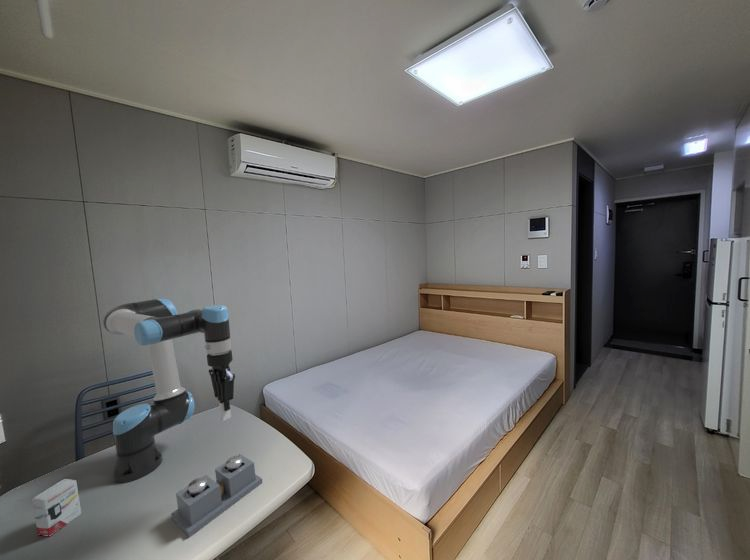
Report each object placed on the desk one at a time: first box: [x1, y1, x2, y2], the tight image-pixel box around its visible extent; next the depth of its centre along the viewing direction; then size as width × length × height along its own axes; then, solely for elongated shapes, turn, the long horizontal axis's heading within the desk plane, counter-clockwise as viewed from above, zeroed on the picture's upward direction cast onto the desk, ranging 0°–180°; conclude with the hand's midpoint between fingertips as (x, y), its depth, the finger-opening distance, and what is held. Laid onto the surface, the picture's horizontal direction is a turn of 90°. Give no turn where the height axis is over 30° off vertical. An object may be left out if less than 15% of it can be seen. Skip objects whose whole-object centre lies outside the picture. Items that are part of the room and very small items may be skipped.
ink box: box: [31, 478, 82, 536], centre depth 93 cm, size 9×5×12 cm, turn 168°
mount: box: [170, 453, 263, 538], centre depth 99 cm, size 12×24×8 cm, turn 145°
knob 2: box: [225, 454, 243, 473], centre depth 104 cm, size 5×5×8 cm
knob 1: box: [187, 476, 207, 498], centre depth 94 cm, size 5×5×8 cm
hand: (226, 418), depth 103 cm, fingers closed
